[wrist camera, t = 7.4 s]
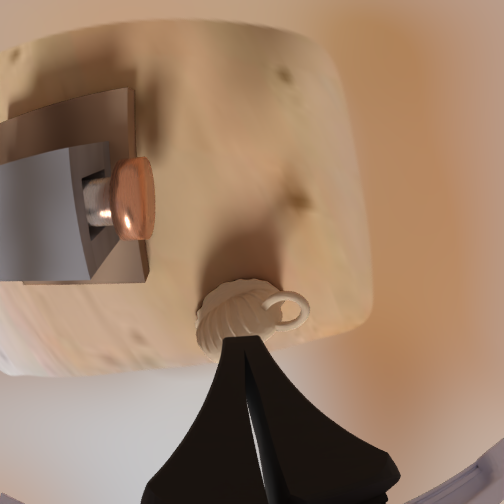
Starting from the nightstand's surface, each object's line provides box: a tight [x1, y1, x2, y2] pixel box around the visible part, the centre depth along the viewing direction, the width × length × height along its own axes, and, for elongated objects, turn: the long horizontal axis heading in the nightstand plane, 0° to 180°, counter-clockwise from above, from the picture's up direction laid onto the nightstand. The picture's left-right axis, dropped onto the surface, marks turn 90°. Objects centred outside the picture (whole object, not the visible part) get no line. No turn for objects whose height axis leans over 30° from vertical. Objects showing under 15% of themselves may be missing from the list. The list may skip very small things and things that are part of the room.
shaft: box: [82, 157, 155, 241], centre depth 12 cm, size 11×4×4 cm, turn 89°
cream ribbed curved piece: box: [195, 278, 310, 363], centre depth 18 cm, size 4×8×5 cm, turn 121°
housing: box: [0, 87, 149, 285], centre depth 13 cm, size 10×12×6 cm
